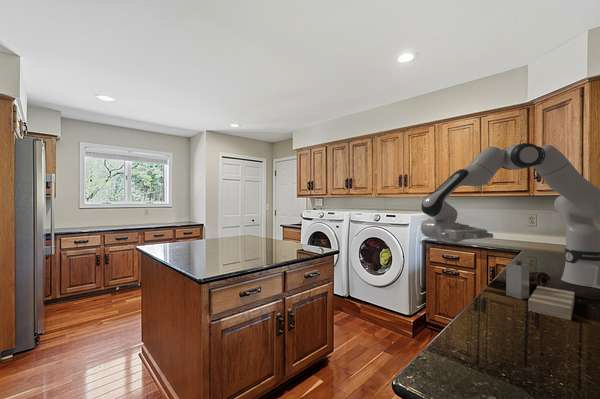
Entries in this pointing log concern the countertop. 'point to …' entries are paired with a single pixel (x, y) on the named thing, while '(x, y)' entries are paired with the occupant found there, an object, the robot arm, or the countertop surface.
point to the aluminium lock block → (517, 280)
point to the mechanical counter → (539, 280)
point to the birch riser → (552, 302)
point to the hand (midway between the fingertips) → (485, 236)
